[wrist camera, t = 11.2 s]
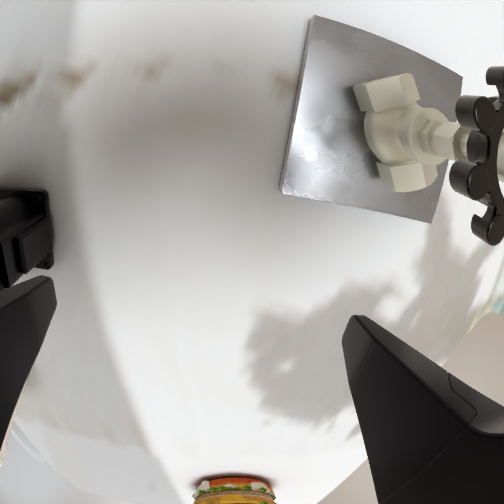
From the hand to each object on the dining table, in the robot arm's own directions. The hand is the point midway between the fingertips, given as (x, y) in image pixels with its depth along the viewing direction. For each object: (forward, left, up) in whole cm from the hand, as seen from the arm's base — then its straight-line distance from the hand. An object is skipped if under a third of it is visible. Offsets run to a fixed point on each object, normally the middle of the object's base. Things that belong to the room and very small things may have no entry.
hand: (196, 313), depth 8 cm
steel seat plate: (+10, +7, -13) cm, 18 cm away
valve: (+10, +7, -12) cm, 17 cm away
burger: (+7, -46, -13) cm, 48 cm away
